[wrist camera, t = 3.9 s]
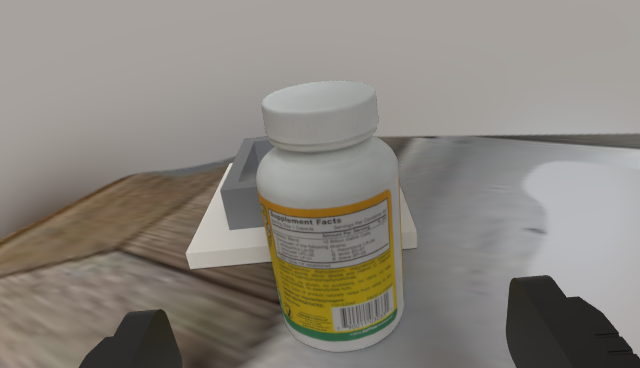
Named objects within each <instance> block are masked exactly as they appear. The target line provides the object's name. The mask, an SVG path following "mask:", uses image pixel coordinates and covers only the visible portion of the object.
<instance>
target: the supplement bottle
mask: <svg viewBox="0 0 640 368" xmlns="http://www.w3.org/2000/svg"><path fill="white" fill-rule="evenodd" d="M262 112H263V119H264V126H265V133H266V135H267V136H268V139H269V141H270V143H271V144H272V145H274V146H275V147H274V148H272V149H271V150H270V151H269V152H268V153H267V154H266V155H265V156H264V158H263V159H262V160H261V162H260V164H259V167H258V170H257V175H256V182H257V190H258V195H259V200H260V206H261V211H262V216H263V221H264V226H265V231H266V236H267V241H268V246H269V251H270V255H271V260H272V265H273V270H274V275H275V280H276V285H277V291H278V296H279V300H280V305H281V308H282V312H283V316H284V320H285V323H286V325H287V327H288V329H289V330H290V332H291V333H292V334H293V335H294V336H295V337H296V338H297V339H298V340H299V341H301V342H303V343H305V344H307V345H309V346H311V347H314V348H317V349H321V350H325V351H331V352H347V351H354V350H359V349H363V348H366V347H369V346H371V345H373V344H375V343H377V342H379V341H380V340H382V339H384V338H385V337H386V336H387V335H389V334H390V333H391V332H392V331H393V329H394V328H395V327H396V326H397V324H398V322H399V321H400V319H401V316H402V313H403V309H404V284H403V259H402V234H401V210H400V181H399V165H398V161H397V158H396V155H395V154H394V152H393V150H392V149H391V148H390V147H389V146H388V145H387V144H386V143H385V142H384V141H382V140H381V139H379V138H377V137H375V136H373V134H374V133H375V131H376V129H377V124H378V121H379V117H378V111H377V99H376V91H375V89H374V88H373V87H372V86H370V85H368V84H365V83H360V82H353V81H324V82H314V83H306V84H301V85H296V86H292V87H288V88H285V89H281V90H279V91H276V92H273V93H271V94H269V95H268V96H267V97H265V98H264V100H263V101H262Z"/></svg>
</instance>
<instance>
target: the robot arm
mask: <svg viewBox="0 0 640 368" xmlns="http://www.w3.org/2000/svg"><path fill="white" fill-rule="evenodd" d="M506 338H507V344H508V348H509V351H510V354H511V357H512V359H513V361H514V363H515V365H516V367H517V368H640V358H639V357H638V356H637V354H633V351H632V348H631V347H630V346H629V345H628V344H627V342H626V341H625V340H624V339H623V337H620V336H619V333H618V331H617V330H616V329H615V328H614V326H613V325H612V324H611V323H610V321H609V320H608V319H607V318H606V317H605V315H604V314H603V313H602V312H601V311H599V310H597V309H596V308H595V307H593V306H592V305H590V304H589V303H587V302H586V301H584V300H583V299H581V298H580V297H568V298H567V297H566V296H565V295H564V293H563V292H562V291H561V289H560V288H559V287H558V285H557V284H556V283H555V281H554V280H553V279H552V278H551V277H550V276H548V275H544V276H532V277H521V278H513V279H512V280H511V282H510V287H509V298H508V310H507V321H506ZM79 368H182V358H181V354H180V351H179V348H178V346H177V343H176V340H175V337H174V334H173V331H172V329H171V326H170V323H169V320H168V317H167V315H166V313H165V312H164V311H163V310H161V309H158V310H148V311H137V312H129V313H128V314H126V316H125V317H124V318H123V320H122V322H121V324H120V325H119V327H118V329H117V331H116V333H115V334H114V336H112V337H105V338H104V339H103V340H102V341H101V342H100V343H99V344H98V345H97V346H96V347H95V348H94V349H93V350H91V351H90V352H89V353H88V354H87V355H86V357H85V358H84V360H83V361H82V363H81V365H80V366H79Z"/></svg>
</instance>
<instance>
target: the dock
mask: <svg viewBox="0 0 640 368" xmlns="http://www.w3.org/2000/svg"><path fill="white" fill-rule="evenodd" d="M274 147H275V146H274V145H272V144H271V143H270V141H269V139H268V136H266V137H257V138H247V139H244V141H243V143H242V145H241V147H240V149H239V151H238V154H237V156H236V158H235V160H234V162H233V163H230V164H229V166H228V168H227V170H226V172H225V174H224V176H223V178H222V180H221V183H220V185H219V187H218V189H217V191H216V193H215V195H214V197H213V199H212V201H211V203H210V205H209V207H208V209H207V211H206V213H205V215H204V217H203V219H202V221H201V223H200V225H199V228H198V230H197V232H196V234H195V236H194V238H193V240H192V242H191V244H190V246H189V248H188V250H187V252H186V256H187V259H188V263H189V266H190V269H197V268H208V267H219V266H229V265H240V264H251V263H261V262H272V260H271V255H270V251H269V246H268V241H267V236H266V231H265V226H264V221H263V216H262V211H261V206H260V200H259V195H258V190H257V182H256V175H257V170H258V167H259V164H260V162H261V160H262V159H263V158H264V156H265V155H266V154H267V153H268V152H269V151H270V150H271V149H272V148H274ZM400 210H401V234H402V249H411V248H417V230H416V228H415V225H414V222H413V219H412V216H411V214H410V211H409V208H408V205H407V203H406V200H405V197H404V194H403V192H402V189H401V186H400Z"/></svg>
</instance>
